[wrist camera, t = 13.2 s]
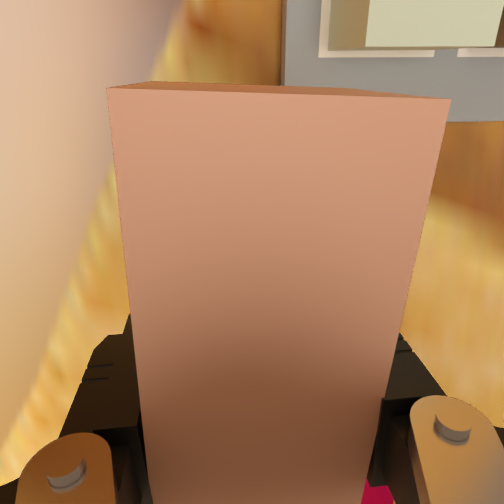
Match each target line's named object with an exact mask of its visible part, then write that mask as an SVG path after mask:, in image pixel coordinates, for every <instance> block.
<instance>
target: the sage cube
mask: <svg viewBox="0 0 504 504" xmlns="http://www.w3.org/2000/svg"><path fill="white" fill-rule="evenodd" d="M503 6H504V0H331V8H330V23H329V38H328V51H369V50H442V49H458V48H475V47H492V46H494V45H495V41H496V37H497V32H498V28H499V24H500V19H501V15H502V11H503Z"/></svg>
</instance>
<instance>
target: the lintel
mask: <svg viewBox="0 0 504 504" xmlns="http://www.w3.org/2000/svg"><path fill="white" fill-rule="evenodd" d="M106 90H107V99H108V108H109V118H110V127H111V135H112V145H113V155H114V164H115V173H116V183H117V192H118V201H119V211H120V220H121V229H122V239H123V248H124V257H125V267H126V276H127V285H128V295H129V304H130V313H131V323H132V332H133V341H134V351H135V360H136V369H137V379H138V388H139V397H140V406H141V416H142V425H143V434H144V444H145V453H146V462H147V472H148V480H149V485H150V490H151V495H152V500H153V504H361V500H362V495H363V491H364V486H365V482H366V477H367V473H368V469H369V464H370V460H371V455H372V451H373V446H374V442H375V437H376V433H377V427H378V420H379V413H380V406H381V399H382V398H384V397H385V393H386V388H387V384H388V380H389V375H390V371H391V366H392V362H393V357H394V353H395V348H396V344H397V339H398V335H399V331H400V326H401V322H402V317H403V313H404V308H405V304H406V299H407V295H408V290H409V286H410V282H411V277H412V273H413V268H414V264H415V259H416V255H417V250H418V246H419V242H420V237H421V233H422V228H423V224H424V219H425V215H426V210H427V206H428V201H429V197H430V193H431V188H432V184H433V179H434V175H435V170H436V166H437V161H438V157H439V152H440V148H441V144H442V139H443V135H444V130H445V126H446V121H447V117H448V112H449V108H450V103H451V99H444V98H435V97H425V96H416V95H407V94H397V93H388V92H378V91H369V90H360V89H350V88H332V87H304V86H275V85H246V84H218V83H189V82H160V81H150V82H143V83H136V84H130V85H123V86H116V87H110V88H106Z"/></svg>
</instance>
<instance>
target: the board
mask: <svg viewBox="0 0 504 504" xmlns="http://www.w3.org/2000/svg"><path fill="white" fill-rule="evenodd" d="M330 8H331V0H283V1H282V42H281V84H280V86H304V87H332V88H350V89H360V90H369V91H378V92H388V93H397V94H407V95H416V96H425V97H435V98H444V99H451V103H450V108H449V112H448V117H447V121H446V122H476V121H504V48H458V49H442V50H369V51H328V38H329V23H330Z"/></svg>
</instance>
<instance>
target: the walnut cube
mask: <svg viewBox="0 0 504 504" xmlns="http://www.w3.org/2000/svg"><path fill="white" fill-rule="evenodd" d="M475 48H504V6H503V11H502V15H501V19H500V24H499V28H498V32H497V37H496V41H495V45H494V46H492V47H475Z"/></svg>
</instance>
